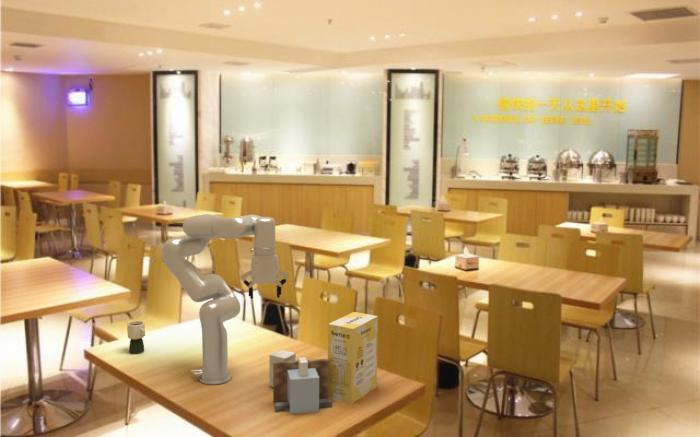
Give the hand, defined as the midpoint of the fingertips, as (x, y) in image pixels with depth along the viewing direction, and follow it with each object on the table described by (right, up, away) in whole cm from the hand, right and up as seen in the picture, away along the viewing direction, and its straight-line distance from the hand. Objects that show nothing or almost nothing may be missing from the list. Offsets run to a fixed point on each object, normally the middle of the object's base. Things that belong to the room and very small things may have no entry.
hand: (265, 297), depth 234 cm
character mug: (-62, -29, +44) cm, 81 cm away
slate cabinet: (+14, -38, -7) cm, 41 cm away
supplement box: (+5, -35, +12) cm, 38 cm away
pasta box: (+32, -37, +6) cm, 49 cm away
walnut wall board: (+14, -38, -5) cm, 41 cm away
